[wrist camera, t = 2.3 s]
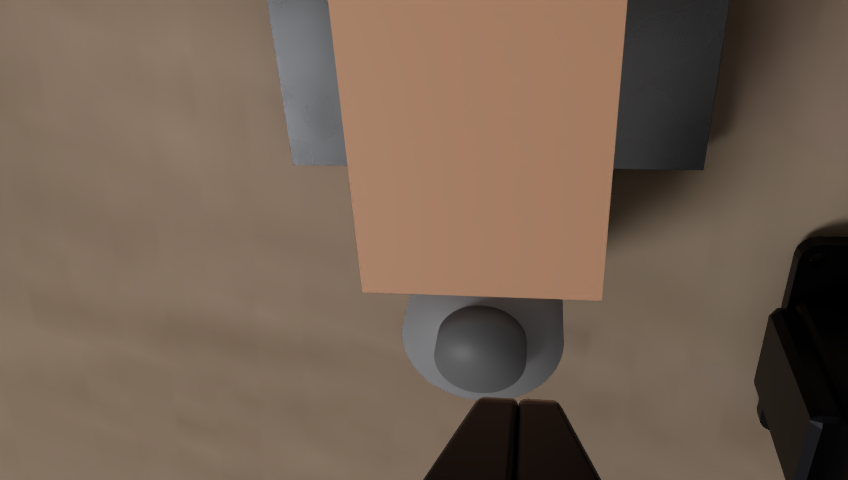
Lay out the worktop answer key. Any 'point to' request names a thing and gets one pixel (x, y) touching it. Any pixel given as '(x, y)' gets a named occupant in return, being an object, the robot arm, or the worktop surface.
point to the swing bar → (481, 173)
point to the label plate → (638, 100)
